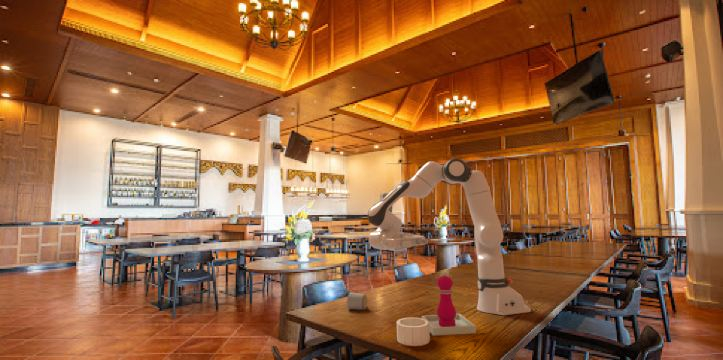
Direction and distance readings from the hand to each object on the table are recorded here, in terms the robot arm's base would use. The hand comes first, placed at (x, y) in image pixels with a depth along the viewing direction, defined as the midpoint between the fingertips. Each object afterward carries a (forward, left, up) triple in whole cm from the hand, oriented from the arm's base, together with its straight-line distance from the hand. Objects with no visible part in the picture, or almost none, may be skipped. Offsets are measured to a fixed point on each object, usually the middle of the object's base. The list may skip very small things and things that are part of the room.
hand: (419, 242), depth 144 cm
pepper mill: (-7, +10, -31) cm, 33 cm away
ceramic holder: (+9, +21, -32) cm, 39 cm away
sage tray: (-7, +10, -32) cm, 34 cm away
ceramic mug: (+25, -24, -32) cm, 47 cm away
